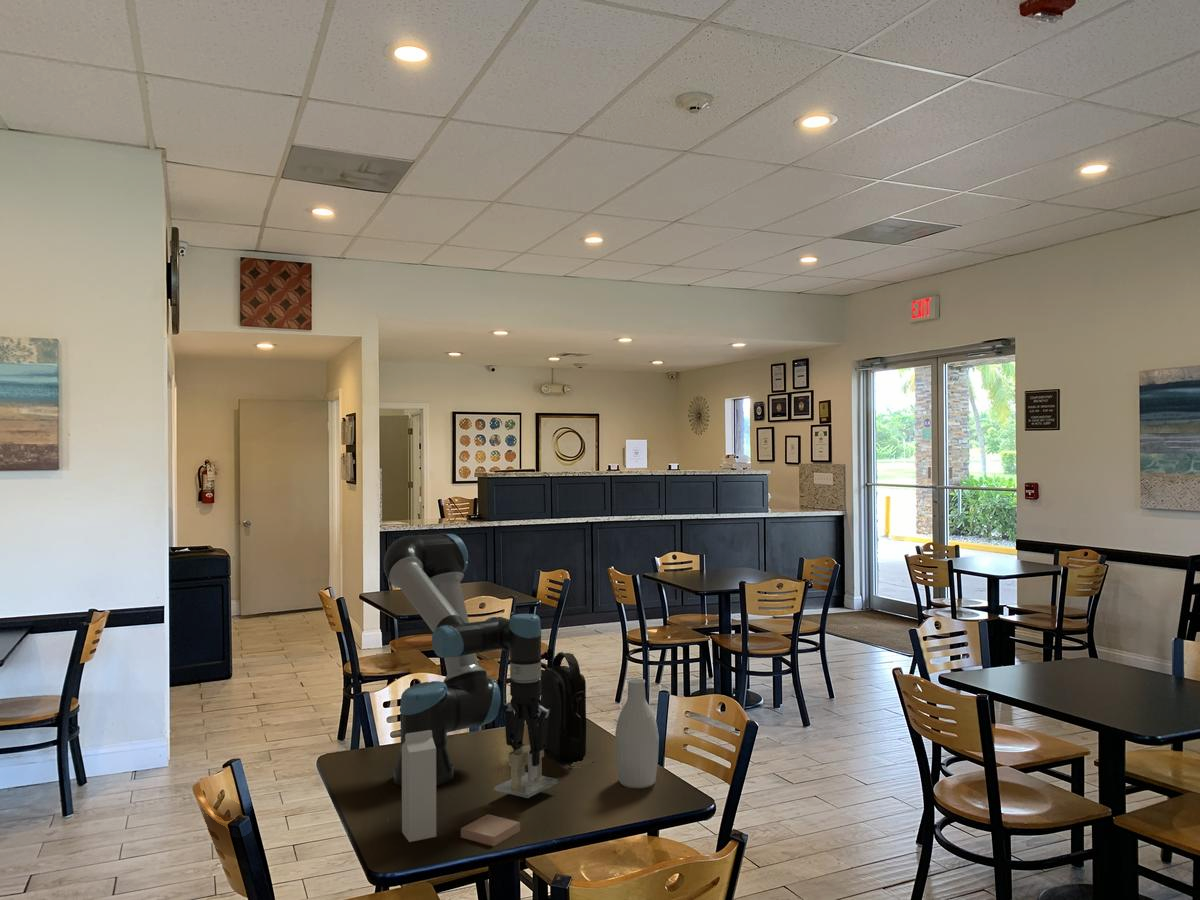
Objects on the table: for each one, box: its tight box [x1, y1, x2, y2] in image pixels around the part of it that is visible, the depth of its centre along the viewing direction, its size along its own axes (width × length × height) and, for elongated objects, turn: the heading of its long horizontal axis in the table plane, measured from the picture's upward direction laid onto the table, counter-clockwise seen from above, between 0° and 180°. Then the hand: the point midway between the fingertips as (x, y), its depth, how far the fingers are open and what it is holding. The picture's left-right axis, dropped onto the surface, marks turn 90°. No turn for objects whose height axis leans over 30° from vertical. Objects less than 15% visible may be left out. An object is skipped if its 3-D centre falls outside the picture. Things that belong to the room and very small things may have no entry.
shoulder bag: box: [537, 651, 587, 771], centre depth 241 cm, size 23×9×28 cm, turn 25°
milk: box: [401, 730, 437, 843], centre depth 189 cm, size 6×6×22 cm
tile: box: [460, 813, 521, 847], centre depth 188 cm, size 9×2×9 cm
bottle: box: [614, 678, 660, 789], centre depth 219 cm, size 11×11×25 cm
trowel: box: [494, 743, 559, 799], centre depth 210 cm, size 12×10×9 cm
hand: (526, 777), depth 210 cm, fingers closed on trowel, 3 cm apart
